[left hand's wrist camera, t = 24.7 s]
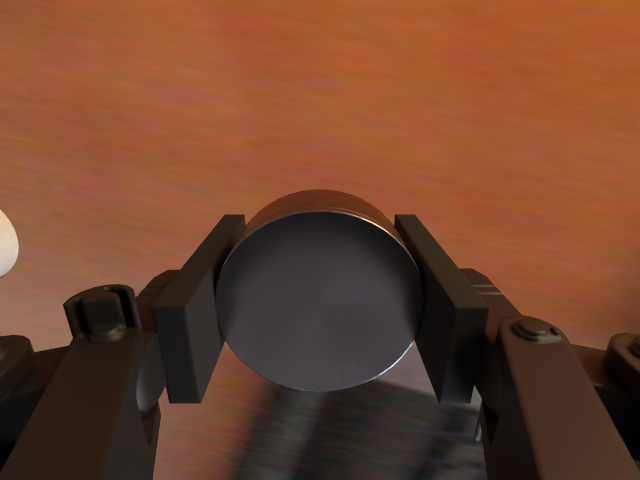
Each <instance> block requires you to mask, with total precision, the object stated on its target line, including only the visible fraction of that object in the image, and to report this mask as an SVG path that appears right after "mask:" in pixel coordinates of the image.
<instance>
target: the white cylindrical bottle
mask: <svg viewBox="0 0 640 480" xmlns="http://www.w3.org/2000/svg"><path fill="white" fill-rule="evenodd" d="M18 251H19V245H18V239H17V235H16V232H15V230H14V228H13V226H12V224H11V222H10V221H9V219H8V218H7V216H6V215H5V214H4V213H3V211H2V210H1V209H0V277H1V276H3V275H5V274H6V273H7V272H9V271H10V269H11V268H12V267H13V266H14V264H15V262H16V260H17V257H18Z"/></svg>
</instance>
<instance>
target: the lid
mask: <svg viewBox="0 0 640 480" xmlns="http://www.w3.org/2000/svg"><path fill="white" fill-rule="evenodd" d="M424 304H425V293H424V287H423V281H422V278H421V275H420V272H419V269H418V267H417V265H416V263H415V261H414V259H413V257H412V256H411V254H410V252H409V251H408V249H407V247H406V245H405V244H404V242H403V240H402V239H401V237H400V235H399V233H398V232H397V230H396V229H395V227H394V226H393V224H392V223H391V222H390V221H389V219H388V218H387V217H386V216H385V215H384V214H383V213H382V212H380V211H379V210H378V209H377V208H375V207H374V206H373V205H371V204H369V203H368V202H366V201H364V200H363V199H360V198H358V197H356V196H353V195H351V194H347V193H343V192H340V191H333V190H307V191H300V192H296V193H293V194H289V195H287V196H284V197H282V198H279V199H277V200H275V201H274V202H272V203H270V204H268V205H267V206H266V207H264V208H263V209H262V210H260V211H259V212H258V213H257V214H256V215H255V216H254V217H253V218H252V219H251V220H250V221H249V223H248V224H247V225H246V227H245V228H244V230H243V231H242V233H241V235H240V236H239V238H238V240H237V242H236V243H235V245H234V247H233V248H232V250H231V252H230V254H229V255H228V257H227V259H226V261H225V263H224V264H223V266H222V268H221V271H220V274H219V277H218V280H217V285H216V290H215V306H216V314H217V320H218V324H219V327H220V330H221V332H222V334H223V337H224V338H225V340H226V342H227V343H228V345H229V347H230V348H231V349H232V351H233V352H234V353H235V354H236V356H237V357H238V358H239V359H240V360H241V361H242V362H243V363H244V364H245V365H247V366H248V367H249V368H250V369H252V370H253V371H254V372H256V373H258V374H259V375H261V376H263V377H264V378H266V379H268V380H271V381H273V382H275V383H277V384H280V385H283V386H286V387H290V388H295V389H299V390H307V391H332V390H340V389H345V388H350V387H353V386H356V385H360V384H362V383H365V382H367V381H369V380H372V379H373V378H375V377H377V376H379V375H381V374H382V373H384V372H385V371H386V370H388V369H389V368H391V367H392V366H393V365H394V364H395V363H396V362H397V361H398V360H400V359H401V358H402V356H403V355H404V354H405V353H406V352H407V350H408V349H409V348H410V346H411V344H412V343H413V341H414V340H415V338H416V336H417V333H418V331H419V329H420V326H421V322H422V319H423V312H424Z"/></svg>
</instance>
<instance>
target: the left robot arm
mask: <svg viewBox="0 0 640 480" xmlns="http://www.w3.org/2000/svg"><path fill="white" fill-rule="evenodd" d="M245 227H246V225H245V215H224V216H223V218H222V219H221V220H220V221H219V223H218V224H217V225H216V226H215V228H214V229H213V230H212V231H211V232H210V234H209V235H208V236H207V237H206V239H205V240H204V241H203V242H202V244H201V245H200V246H199V247H198V248H197V250H196V251H195V252H194V253H193V255H192V256H191V257H190V258H189V260H188V261H187V262H186V263H185V264H184V266H183V267H182V268H181V269H180V270H167V271H165V272H163V273H161V274H160V275H158V276H156V277H154V278H153V279H152V280H151V281H150V282H149V284H148V285H147V286H146V288H144V289H143V290H142V291H141V292H140V293H139V296H137V297H136V298H135V294H134V289H132V288H131V287H129V286H126V285H120V284H114V285H104V286H99V287H94V288H91V289H88V290H85V291H82V292H80V293H78V294H76V295H74V296H72V297H71V298H69V299H68V300H67V301H66V302H65V303H64V304H63V307H64V310H65V313H66V316H67V320H68V323H69V326H70V329H71V333H72V336H73V339H72V341H71V343H70V345H69V346H65V347H60V348H55V349H49V350H44V351H39V352H34V350H33V348H32V345H31V342H30V340H29V339H28V338H26V337H25V336H20V335H9V336H0V480H152V479H153V471H154V464H155V456H156V449H157V441H158V434H159V426H160V419H161V413H160V407H159V403H158V399H159V397H160V395H161V394H162V392H163V390H164V388H165V386H166V389H167V394H168V398H169V403H201V401H202V399H203V396H204V393H205V391H206V388H207V386H208V383H209V381H210V378H211V376H212V373H213V370H214V368H215V365H216V363H217V360H218V358H219V355H220V352H221V350H222V347H223V345H224V342H225V338H224V337H223V334H222V332H221V330H220V327H219V324H218V320H217V314H216V306H215V290H216V285H217V280H218V277H219V274H220V271H221V268H222V266H223V264H224V263H225V261H226V259H227V257H228V255H229V254H230V252H231V250H232V248H233V247H234V245H235V243H236V242H237V240H238V238H239V236H240V235H241V233H242V231H243V230H244V228H245ZM394 227H395V229H396V230H397V232H398V233H399V235H400V237H401V239H402V240H403V242H404V244H405V245H406V247H407V249H408V251H409V252H410V254H411V256H412V257H413V259H414V261H415V263H416V265H417V267H418V269H419V272H420V275H421V278H422V281H423V287H424V293H425V304H424V312H423V319H422V322H421V326H420V329H419V331H418V333H417V336H416V338H415V343H416V345H417V348H418V350H419V353H420V356H421V358H422V361H423V363H424V366H425V368H426V371H427V374H428V376H429V379H430V381H431V384H432V386H433V389H434V392H435V394H436V397H437V399H438V402H439V403H470V402H471V397H472V392H473V388H474V385H475V387H476V388H477V390H478V392H479V394H480V396H481V398H482V403H481V407H480V412H479V416H478V421H477V426H476V430H475V436H474V440H477V441H479V439H480V434H481V433H482V441H483V448H484V456H485V463H486V470H487V478H488V480H640V335H638V334H630V333H623V334H616V335H614V336H613V337H611V339H610V341H609V344H608V347H607V350H606V351H605V350H600V349H594V348H589V347H584V346H578V345H574V344H570V342H569V341H568V339H567V337H566V336H565V335H564V334H563V333H562V331H561V330H559V329H558V328H556V327H555V326H553V325H552V324H550V323H547V322H545V321H543V320H540V319H538V318H533V317H529V316H523V315H521V313H520V312H519V311H518V310H517V309H516V308H515V307H514V306H513V305H512V304H511V303H510V302H509V301H508V299H507V298H506V297H505V296H504V295H501V292H500V291H499V290H498V289H497V288H496V287H494V284H493V283H492V282H491V281H490V280H489V279H488V278H487V277H486V276H484V275H483V274H481V273H479V272H477V271H476V270H474V269H459V268H458V267H457V266H456V265H455V264H454V262H453V261H452V260H451V259H450V257H449V256H448V255H447V254H446V252H445V251H444V250H443V249H442V248H441V246H440V245H439V244H438V243H437V241H436V240H435V239H434V238H433V236H432V235H431V234H430V233H429V232H428V230H427V229H426V228H425V227H424V225H423V224H422V223H421V222H420V220H419V219H418V218H417V217H416V216H415V215H395V223H394Z"/></svg>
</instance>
